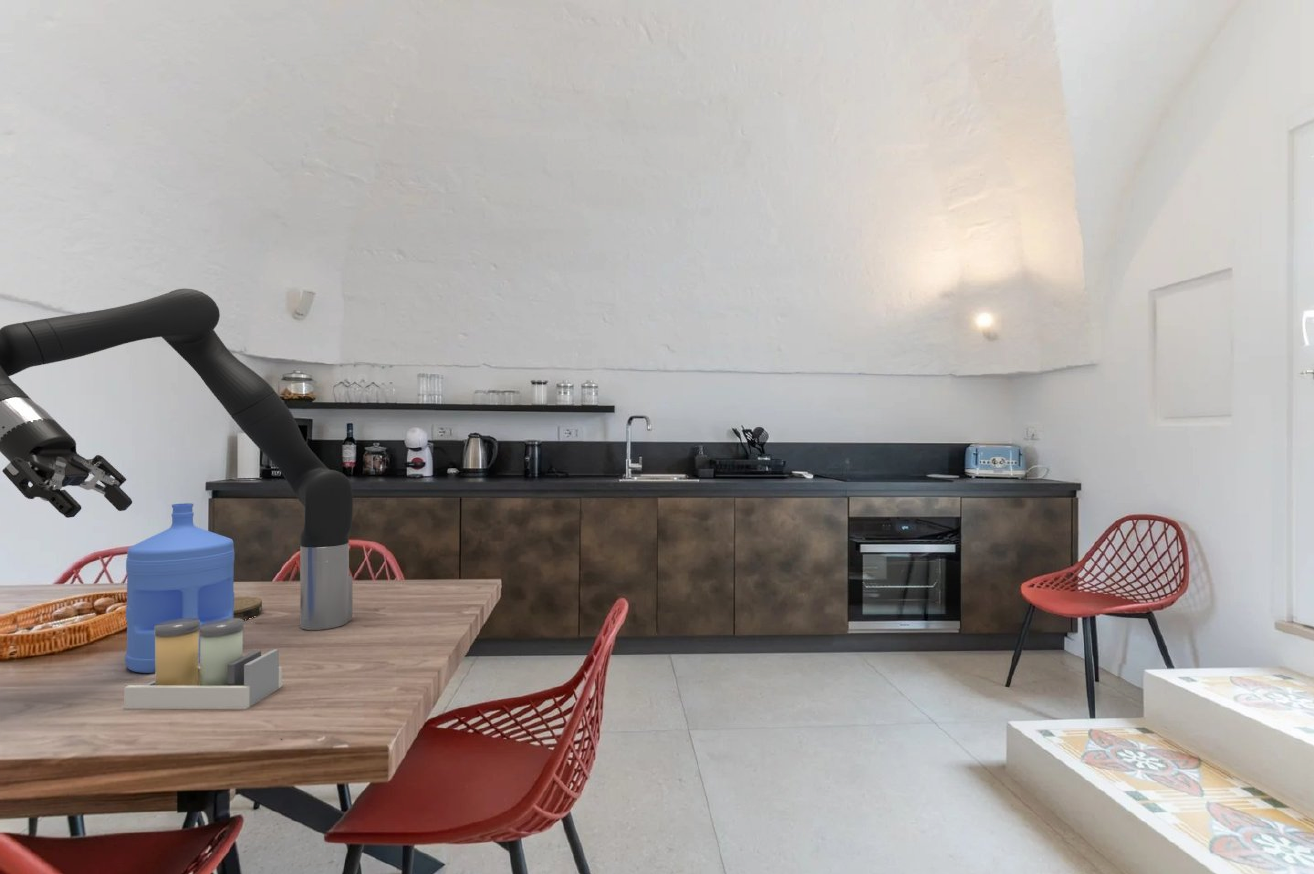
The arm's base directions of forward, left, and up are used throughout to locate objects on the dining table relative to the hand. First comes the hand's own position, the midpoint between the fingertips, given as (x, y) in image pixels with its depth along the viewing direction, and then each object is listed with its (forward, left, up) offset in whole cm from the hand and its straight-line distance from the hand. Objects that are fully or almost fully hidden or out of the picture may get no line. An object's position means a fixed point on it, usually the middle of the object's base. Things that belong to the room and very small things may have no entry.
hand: (102, 510), depth 94 cm
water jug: (-17, -9, -29) cm, 35 cm away
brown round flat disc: (-38, -30, -30) cm, 57 cm away
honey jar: (-4, +11, -28) cm, 30 cm away
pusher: (-8, +21, -28) cm, 36 cm away
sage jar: (-6, +17, -28) cm, 33 cm away
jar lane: (-6, +15, -29) cm, 33 cm away
